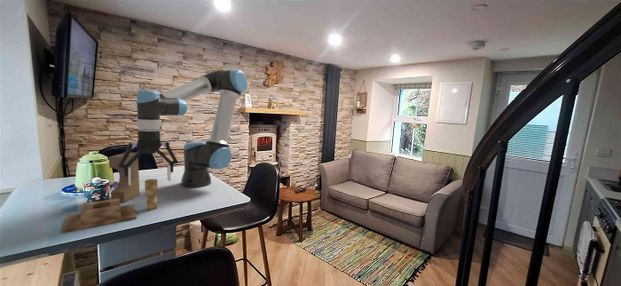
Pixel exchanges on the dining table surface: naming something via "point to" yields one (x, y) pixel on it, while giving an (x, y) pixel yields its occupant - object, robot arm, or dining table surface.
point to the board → (77, 219)
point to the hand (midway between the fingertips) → (150, 182)
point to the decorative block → (125, 179)
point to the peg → (151, 193)
